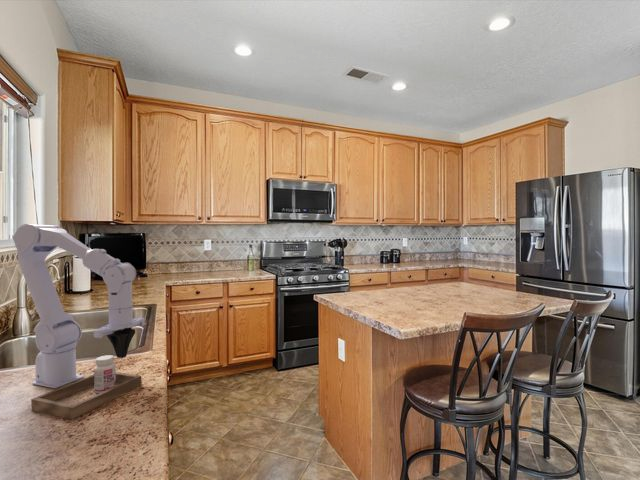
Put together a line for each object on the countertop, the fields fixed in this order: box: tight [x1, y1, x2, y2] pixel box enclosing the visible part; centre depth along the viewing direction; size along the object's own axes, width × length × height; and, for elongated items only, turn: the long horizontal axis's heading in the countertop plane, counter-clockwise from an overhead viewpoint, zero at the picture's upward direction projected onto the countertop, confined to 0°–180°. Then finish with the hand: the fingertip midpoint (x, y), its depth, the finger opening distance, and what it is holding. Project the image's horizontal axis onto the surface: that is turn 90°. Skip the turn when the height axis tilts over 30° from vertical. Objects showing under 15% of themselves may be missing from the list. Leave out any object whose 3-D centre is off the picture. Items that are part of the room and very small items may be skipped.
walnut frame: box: [30, 371, 142, 420], centre depth 88 cm, size 14×18×2 cm
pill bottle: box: [93, 354, 117, 394], centre depth 92 cm, size 5×5×8 cm
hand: (121, 357), depth 96 cm, fingers closed
